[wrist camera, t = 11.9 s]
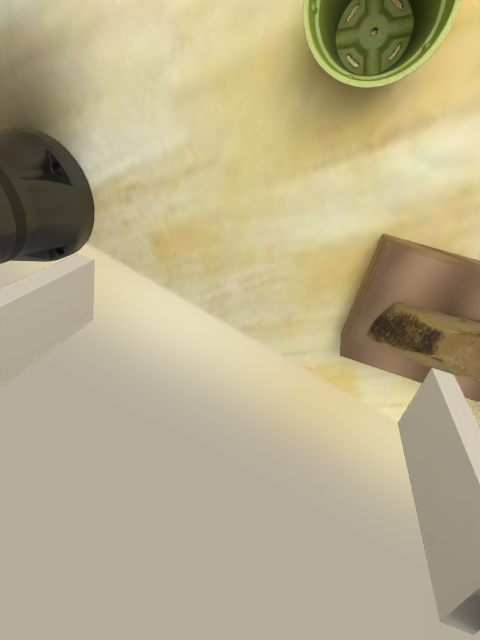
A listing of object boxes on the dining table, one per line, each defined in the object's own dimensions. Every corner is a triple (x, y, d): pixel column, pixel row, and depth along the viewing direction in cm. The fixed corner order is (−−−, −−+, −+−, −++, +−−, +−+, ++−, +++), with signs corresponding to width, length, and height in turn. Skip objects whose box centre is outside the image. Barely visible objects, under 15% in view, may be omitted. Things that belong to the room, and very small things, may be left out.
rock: (560, 318, 28) (460, 253, 27) (551, 420, 25) (438, 352, 24) (447, 346, 38) (370, 300, 37) (430, 422, 35) (345, 374, 34)
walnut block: (341, 333, 42) (340, 355, 37) (383, 233, 36) (387, 246, 32) (464, 373, 40) (478, 401, 35) (529, 275, 34) (556, 294, 30)
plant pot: (373, 124, 32) (380, 118, 25) (292, 55, 32) (274, 27, 24) (464, 11, 28) (506, -39, 20) (371, -73, 27) (379, -156, 20)
